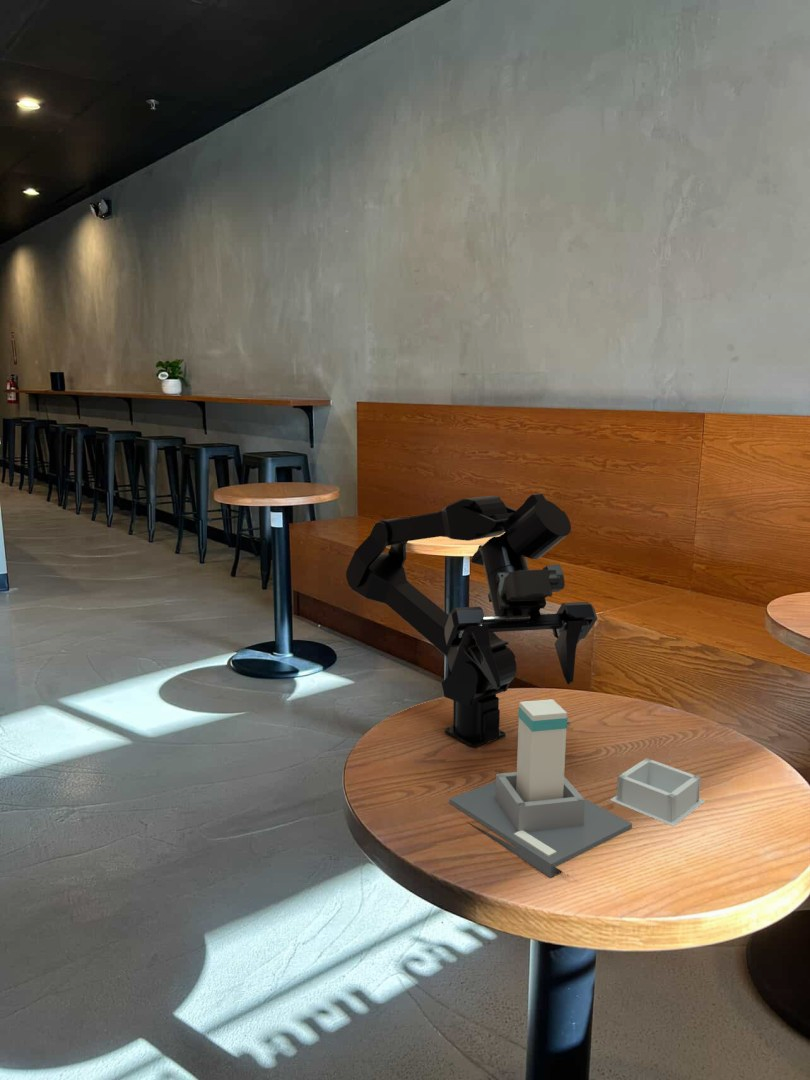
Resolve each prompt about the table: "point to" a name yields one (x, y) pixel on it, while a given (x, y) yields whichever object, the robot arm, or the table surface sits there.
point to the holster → (659, 791)
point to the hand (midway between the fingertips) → (534, 685)
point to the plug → (541, 750)
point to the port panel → (550, 837)
